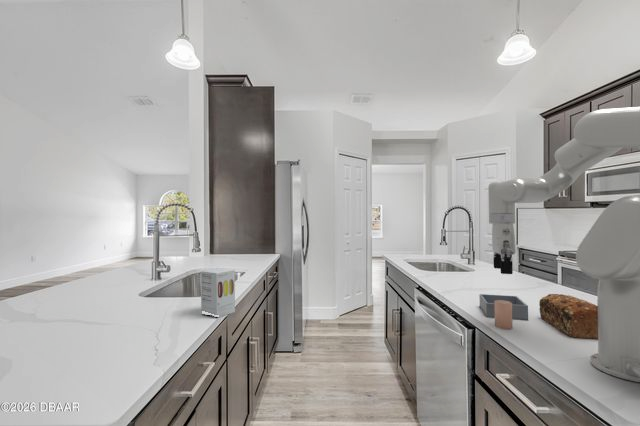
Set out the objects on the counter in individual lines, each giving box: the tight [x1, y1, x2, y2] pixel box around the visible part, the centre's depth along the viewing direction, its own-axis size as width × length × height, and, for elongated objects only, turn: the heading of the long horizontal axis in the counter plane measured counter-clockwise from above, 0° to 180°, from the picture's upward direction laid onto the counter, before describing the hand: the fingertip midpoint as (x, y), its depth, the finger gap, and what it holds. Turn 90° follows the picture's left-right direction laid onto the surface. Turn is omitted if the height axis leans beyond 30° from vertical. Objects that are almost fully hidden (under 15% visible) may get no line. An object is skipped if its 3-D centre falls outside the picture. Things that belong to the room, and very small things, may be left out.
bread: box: [538, 293, 598, 340], centre depth 101 cm, size 19×11×10 cm, turn 168°
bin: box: [478, 293, 529, 321], centre depth 116 cm, size 13×13×5 cm
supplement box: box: [200, 267, 236, 318], centre depth 122 cm, size 10×9×17 cm
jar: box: [494, 300, 513, 330], centre depth 103 cm, size 5×5×8 cm
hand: (502, 270), depth 103 cm, fingers open, 9 cm apart
